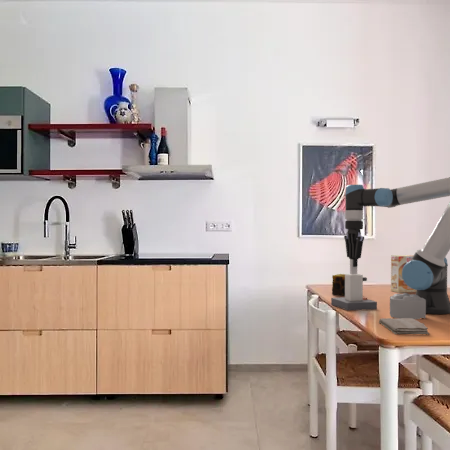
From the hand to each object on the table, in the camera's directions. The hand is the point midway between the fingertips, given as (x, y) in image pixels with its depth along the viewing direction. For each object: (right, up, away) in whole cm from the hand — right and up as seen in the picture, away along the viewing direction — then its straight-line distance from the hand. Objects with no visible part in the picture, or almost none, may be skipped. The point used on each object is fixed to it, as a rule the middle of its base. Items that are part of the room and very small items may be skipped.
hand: (353, 274), depth 198 cm
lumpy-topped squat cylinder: (+16, -15, -20) cm, 29 cm away
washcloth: (+5, -15, -41) cm, 44 cm away
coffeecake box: (+42, -15, +46) cm, 64 cm away
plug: (+1, -14, 0) cm, 14 cm away
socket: (0, -14, 0) cm, 14 cm away
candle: (+5, -15, +34) cm, 38 cm away
